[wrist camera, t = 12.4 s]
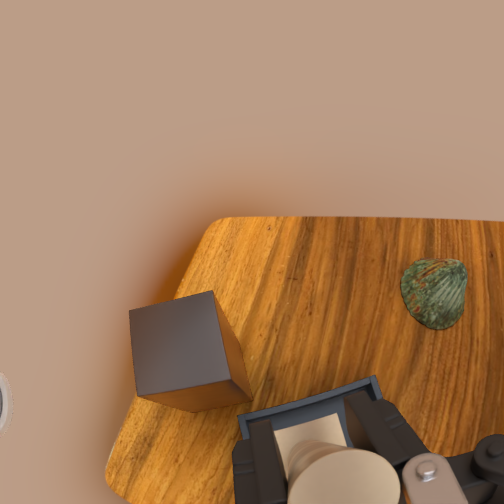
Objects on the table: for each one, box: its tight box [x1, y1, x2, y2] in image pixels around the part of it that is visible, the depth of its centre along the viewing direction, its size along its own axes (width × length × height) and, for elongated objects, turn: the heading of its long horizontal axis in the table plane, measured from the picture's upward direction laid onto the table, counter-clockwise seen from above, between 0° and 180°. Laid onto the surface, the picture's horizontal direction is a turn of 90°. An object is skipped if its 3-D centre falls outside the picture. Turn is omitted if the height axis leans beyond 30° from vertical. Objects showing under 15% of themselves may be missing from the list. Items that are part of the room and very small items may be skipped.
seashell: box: [401, 257, 467, 329], centre depth 34 cm, size 10×4×10 cm
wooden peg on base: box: [274, 413, 400, 504], centre depth 12 cm, size 5×5×16 cm
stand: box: [129, 290, 253, 413], centre depth 28 cm, size 7×7×14 cm
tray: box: [237, 375, 383, 448], centre depth 27 cm, size 14×10×3 cm
